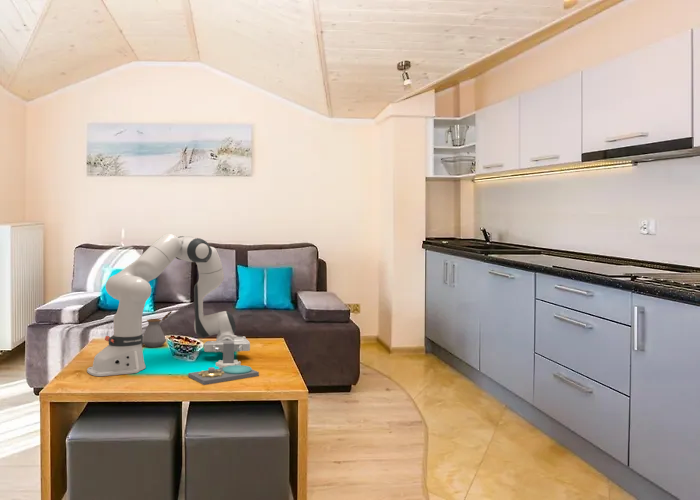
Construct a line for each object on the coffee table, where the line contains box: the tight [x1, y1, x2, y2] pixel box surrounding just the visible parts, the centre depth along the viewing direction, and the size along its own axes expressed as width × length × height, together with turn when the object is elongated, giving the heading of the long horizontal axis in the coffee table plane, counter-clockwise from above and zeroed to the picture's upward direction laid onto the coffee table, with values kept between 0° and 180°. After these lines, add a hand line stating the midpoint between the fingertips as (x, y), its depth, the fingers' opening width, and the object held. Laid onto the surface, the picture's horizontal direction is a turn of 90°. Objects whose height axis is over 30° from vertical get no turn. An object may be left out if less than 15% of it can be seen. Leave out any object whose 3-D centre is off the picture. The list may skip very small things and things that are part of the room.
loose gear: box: [215, 341, 242, 369], centre depth 263 cm, size 10×10×10 cm
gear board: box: [187, 364, 260, 386], centre depth 245 cm, size 24×14×4 cm, turn 129°
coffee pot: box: [143, 311, 174, 348], centre depth 303 cm, size 21×12×15 cm, turn 164°
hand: (227, 349), depth 267 cm, fingers open, 8 cm apart
